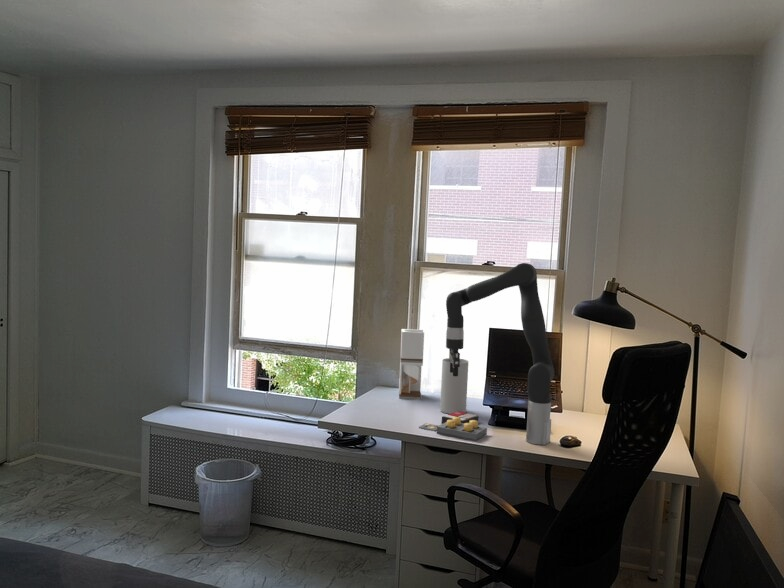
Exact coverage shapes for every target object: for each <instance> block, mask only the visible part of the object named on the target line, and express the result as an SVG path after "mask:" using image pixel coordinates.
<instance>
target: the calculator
mask: <svg viewBox="0 0 784 588" xmlns="http://www.w3.org/2000/svg"><path fill="white" fill-rule="evenodd" d="M453 417H460V418H461V423H469V421H470V420H476V421H478V422H479V416H478V414H474V413H470V412H469V413H468V412H465V413H464V412H460V411H458V412H454V413H451V414H445V415H443V416H441V424H443V423H445V422H447V420H452V418H453ZM441 424H440V425H441Z"/></svg>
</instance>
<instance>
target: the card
mask: <svg viewBox="0 0 784 588" xmlns="http://www.w3.org/2000/svg"><path fill="white" fill-rule="evenodd" d="M437 426H439V425H438V424H433V423H427V422H425V423H424V424H422V425H419V426H418V429H421V430H428V431H432V432H437Z"/></svg>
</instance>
